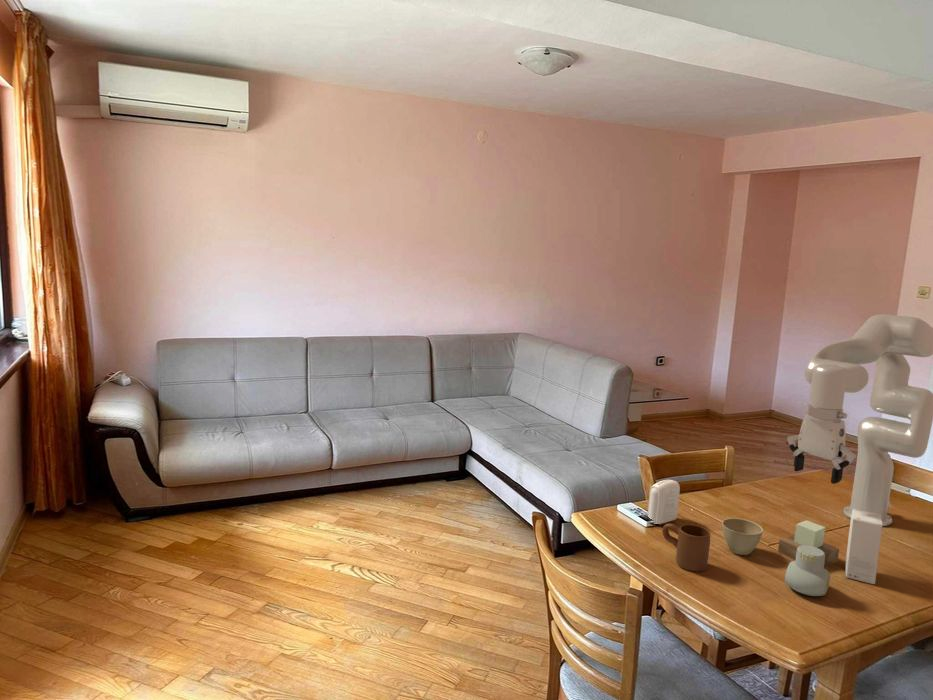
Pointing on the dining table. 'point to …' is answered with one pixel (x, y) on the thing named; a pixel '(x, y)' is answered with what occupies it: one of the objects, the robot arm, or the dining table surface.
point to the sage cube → (809, 534)
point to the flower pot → (741, 535)
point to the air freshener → (808, 572)
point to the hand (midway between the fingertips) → (816, 476)
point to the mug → (690, 545)
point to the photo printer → (663, 501)
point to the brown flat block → (790, 547)
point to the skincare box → (863, 546)
